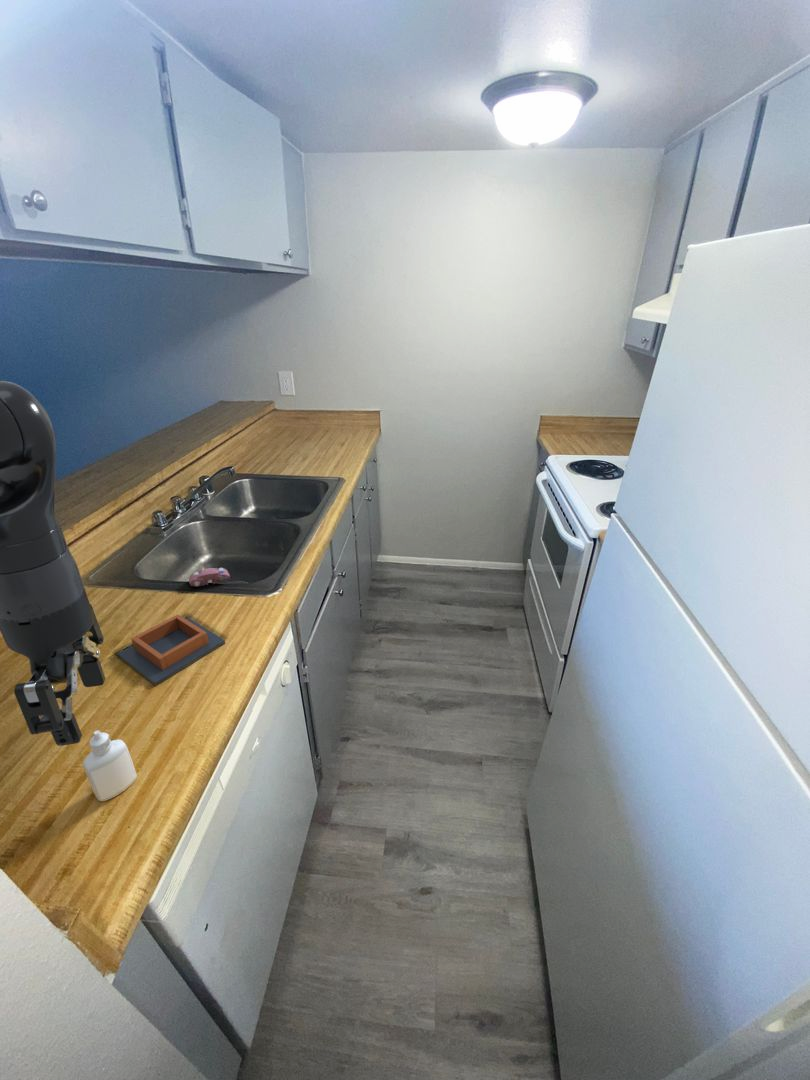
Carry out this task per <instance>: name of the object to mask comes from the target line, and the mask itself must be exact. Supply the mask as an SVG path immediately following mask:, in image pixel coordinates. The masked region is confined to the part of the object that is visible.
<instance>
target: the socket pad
mask: <svg viewBox="0 0 810 1080" xmlns="http://www.w3.org/2000/svg"><path fill="white" fill-rule="evenodd" d="M130 640H131V643H132V644H131V645H130V646H128V647H126V648H124V649H122V650H120V651H118V652H117V653H116V655H117V658H118V659H120V660H121V661H122V662H123V663H125V664H126V665H127V666H129V667H130V668H131V669H132V670H134V671H135V672H136V673H138V674H139V675H140V676H141V677H143V678H144V679H145V680H147V681H148V682H149V683H150V684H151V685H153V686H154V687H157V686H158V685H161V684H162V683H164V682H165V681H167V680H168V679H170V678H172V677H173V676H175V675H176V674H178V673H180V672H182V671H183V670H184V669H186V668H188V667H189V666H191V665H193V664H194V663H196V662H198V661H199V660H201V659H202V658H204V657H205V656H207V655H209V654H210V653H212V652H214V651H215V650H217V649H219V648H220V647H222V646H223V645H225V644H226V640H225V639H224V638H222V637H221V636H219V635H218V634H216V633H214V632H213V631H212V630H209V629H208V628H206V627H204V626H203V625H201V624H200V623H198V622H197V621H195V620H193V619H192V618H190V617H188V616H185V617H183V616H182V615H179V614H176V615H174V616H172V617H170V618H168V619H166V620H164V621H162V622H160V623H158V624H157V625H154V626H152V627H150V628H149V629H148V628H147V629H146V630H145V631H142V632H141V633H139V634H137V635H134V636H133V637H131V638H130Z"/></svg>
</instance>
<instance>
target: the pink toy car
mask: <svg viewBox="0 0 810 1080" xmlns="http://www.w3.org/2000/svg"><path fill="white" fill-rule="evenodd" d="M230 577H231V575H230V573H229V571H228V570H227V569H226V568H224V567H219V568H218V567H217V568H215V567H213V568H212V567H207V568H204V569H202V570H199V571H194V572H193V573H191V574H190V576H189V578H188V584H189V585H190V587H196V588H197V587H202V586H208V585H209V581H211V584H212V585H215V584H220V583H225V582H226V581H229V580H230Z"/></svg>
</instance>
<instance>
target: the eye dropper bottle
mask: <svg viewBox="0 0 810 1080" xmlns="http://www.w3.org/2000/svg"><path fill="white" fill-rule="evenodd" d="M88 743H89V746H90V748H91V752H90V753H89V754H87V756H86V757H85V758H84V760H83V761H82V768H83V770H84V772H85V775H86V777H87V779H88V782H89V784H90V787H91V789H92V792H93V793H94V796H95V798H96V799H97V800H98V801H100V802H106V801H108V800H111V799H113V798H115V797H117V796H119V795H120V794H123V792H124V791H126V790H127V789H128V788H129V787H130V786H131V785H133V783H135V781H136V780H137V778H138V774H137V771H136V768H135V765H134V763H133V759H132V757H131V754H130V751H129V748H128V746H127V743H125V742H124V741H123V739H112V740H111V738H110V735H109V733H107V732H103V731H102V732H101V730H98V729H97V730H95V731H94V732H93V736H92V737H91V738H90V740H89V742H88Z"/></svg>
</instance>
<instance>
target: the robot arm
mask: <svg viewBox="0 0 810 1080" xmlns="http://www.w3.org/2000/svg"><path fill="white" fill-rule="evenodd" d="M56 446H57V445H56V435H55V430H54V426H53V423H52V420H51V418H50V415H49V414H48V412H47V410H46V408H45V407H44V405H43V404H42V403H41V402H40V400H39V399H38V398H37V397H36V396H35V395H34V394H33V393H31V392H30V391H29V390H27V389H26V388H25V387H23V386H21V385H19V384H18V383H15V382H12V381H7V380H0V633H1V636H2V638H3V640H4V642H5V644H6V646H7V648H8V649H9V650H11V651H12V652H14V653H17V654H20V655H21V656H24V657H26V658H28V661H29V666H30V673H31V677H30V678H29V679H28V681H27V682H21V683H19V682H18V683H16V685H15V686H14V691H13V692H14V696H15V699H16V701H17V704H18V706H19V709H20V711H21V713H22V716H23V717H24V718H23V719H24V720H25V723H26V725H27V728H28V730H29V733H30V735H39V734H43V733H49V732H50V734H51V736H52V737H53V740H54V742H55V744H56V745H57V746H58V747H63V746H70V745H75V744H78V743H80V742H81V739H82V737H83V733H82V732H81V729H80V726H79V723H78V721H77V718H76V716H75V714H74V713H73V697H74V696H76V695H77V693H78V674H79V677H80V680H81V682H82V685H83V686H84V687H85V688H92V687H100V686H103V685H104V684H105V682H106V676H105V673H104V669H103V666H102V664H101V661H100V656H101V649H100V648H99V647H98V646H100V645H102V644H103V643H104V640H105V639H104V638H105V637H104V634H103V633H102V629H101V627H100V625H99V621H98V619H97V616H96V613H95V610H94V608H93V605H92V604H91V603H90V600H89V597H88V595H87V591H86V587H85V584H84V582H83V579H82V576H81V573H80V570H79V566H78V564H77V562H76V559H75V558H74V556H73V554H72V553H71V550H70V548H69V546H68V544H67V541H66V538H65V535H64V531H63V529H62V525H61V523H60V520H59V516H58V514H57V509H56V458H57V457H56V453H57V449H56ZM89 632H90V633H91V634H92V635H86V634H87V633H89ZM58 684H66V685H65V688H63V689H57V690H55V689H56V687H55V685H58ZM57 699H60V700H61V708H60V706H59V703H58V700H57Z"/></svg>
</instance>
